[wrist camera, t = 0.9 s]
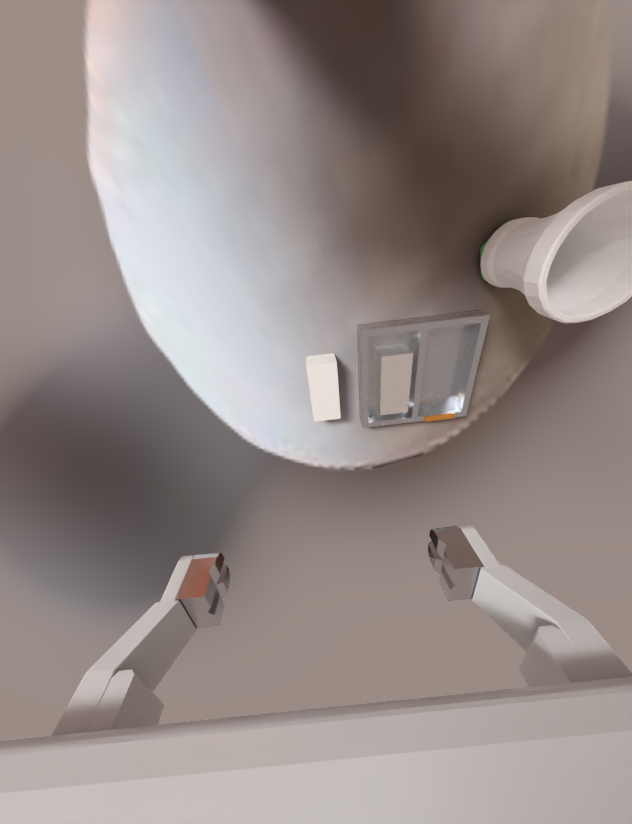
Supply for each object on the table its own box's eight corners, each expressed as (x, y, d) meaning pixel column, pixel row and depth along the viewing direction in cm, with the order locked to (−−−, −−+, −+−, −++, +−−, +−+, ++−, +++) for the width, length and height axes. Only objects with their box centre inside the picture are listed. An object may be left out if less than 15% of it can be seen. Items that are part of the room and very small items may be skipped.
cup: (517, 304, 39) (611, 332, 28) (448, 291, 38) (515, 314, 26) (568, 211, 34) (715, 195, 22) (488, 190, 32) (599, 161, 20)
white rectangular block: (305, 356, 42) (306, 366, 39) (334, 352, 42) (336, 362, 39) (313, 408, 48) (313, 421, 44) (338, 406, 48) (340, 418, 44)
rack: (357, 325, 40) (363, 334, 36) (478, 310, 40) (498, 317, 36) (359, 419, 49) (364, 435, 45) (457, 408, 49) (471, 423, 45)
